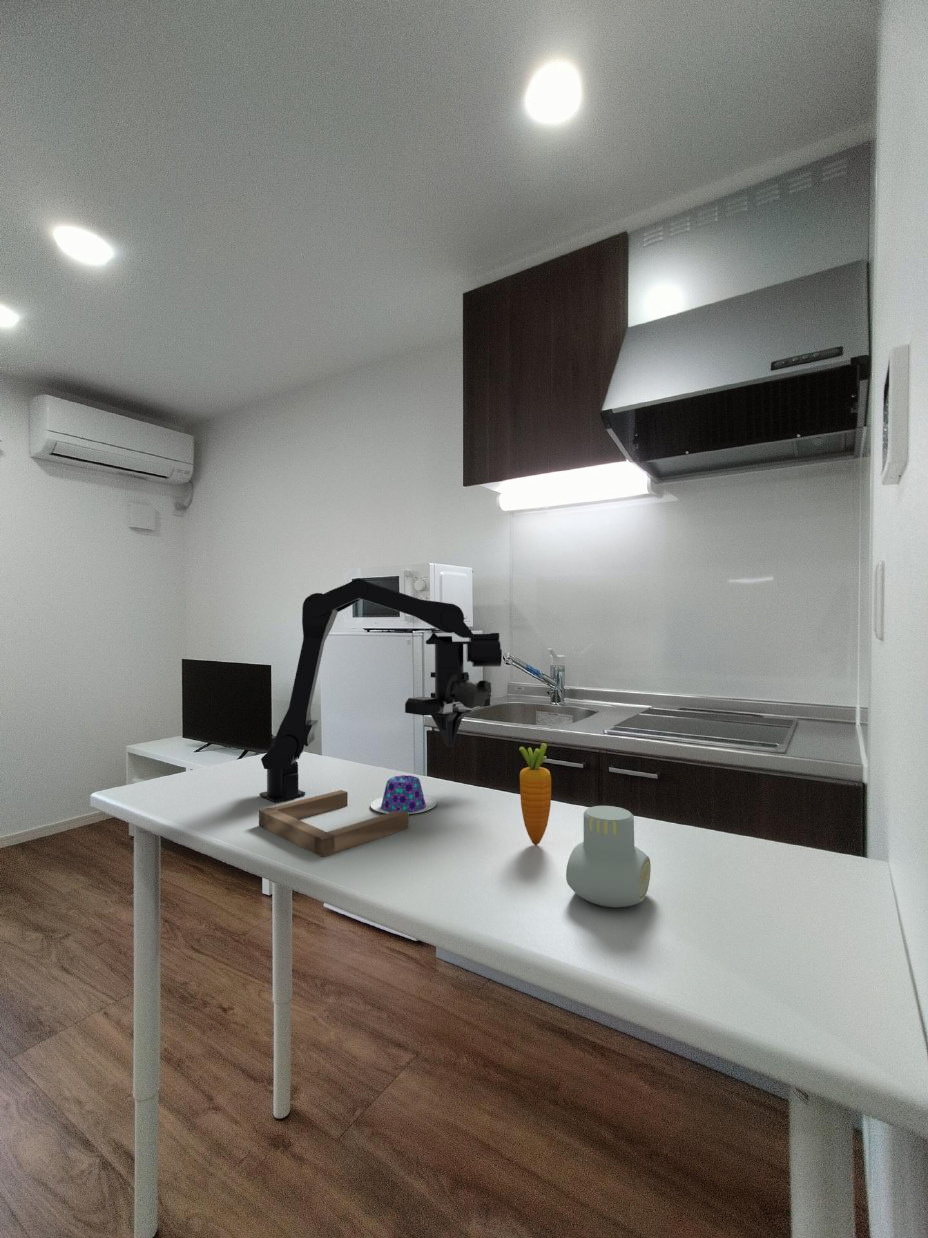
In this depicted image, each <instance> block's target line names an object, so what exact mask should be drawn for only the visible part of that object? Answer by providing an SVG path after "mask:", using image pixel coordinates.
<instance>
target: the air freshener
mask: <svg viewBox="0 0 928 1238" xmlns="http://www.w3.org/2000/svg"><path fill="white" fill-rule="evenodd" d="M651 868H652V867H651V859H650V857H649V856H648V855H647V854H646V853H645V852H644V851H643V850H641V849H640V848H638V847H637V846H635V818H634V814H632V812H631V811H629V810H628V809H625V808H623V807H617V806H612V805H595V806H590V807H588V808H587V809H585V810H584V812H583V841H582V842H581V843H578V844H577V845H575V847H573V849H572V851H571V853H570V855H569V857H568V862H567V865H566V871H565V878H566V879H565V880H566V883H567V885H568V887H569V888H570V889H571V890H573V892H574V893H575V894H576V895H578V896H579V897H580V898H582V899H584V900H586V901H587V902H590V903H592V904H594V905H597V906H601V907H606V908H614V909H615V908H616V909H617V908H625V907H630V906H635V905H637V904H640V903H642V902H643V901H644V900H645V898H646V895H647V893H648V889H649V887H650V880H651Z"/></svg>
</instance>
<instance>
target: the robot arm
mask: <svg viewBox="0 0 928 1238" xmlns="http://www.w3.org/2000/svg"><path fill="white" fill-rule="evenodd" d="M360 601H367V602H369V603H372V604H375V605H379V606H382V607H384V608H387V609H390V610H394V611H396V612H399V613H403V614H406V615H409V616H412V617H415V618H417V619H418V620H421V622H424V623H426V624H427V625H429V626H432V627H433V628H435V629H437V630H439V631H440V632H443V633H446V634H447V633H448V634H453V633H454V634H455V635H456V636H458V637H459V638H463V639H468V640H467V641H465V640H464V641H463V640H462V641H459V640H458V641H457V640H454V641H453V636H452V635H437V634H436V632H432V633H431V635H430V637H429V638H428V639H426V640H425V644H426V645H434V671H432V672H430V678H434V692H430V697H427V696H417V697H416V696H415V697H408V698H407V700H406V701H405V703H404V713H406V714H412V715H416V716H417V715H418V716H431V718H432V719H433V721H434V723H435V724H436V727H437V728H438V731H439V733H440V735H441V737H442V739H443V742H444V743H445V745H446V747H453V746H454V743H455V741H456V737H457V734H458V730H459V728H460V725H461V723H462V721H463V719H464V718H465V717H466V716H467V715H468V714H470V713H471V712H472V709H474V708H478V707H480V708H483V707H484V708H485V707H490V706H491V697H492V694H491V693H492V683H491V682H490V681H489V680H486V679H483V680H479V681H478V682H472V681H471V680H470V675H469V672H468V671H464V670H465V669H464V667H465V666H464V663H465V662H464V645H466V649H465V650H466V651H465V652H466V653H465V654H466V655H465V656H466V657H465V658H466V662H467V663H468V662H469V663H471V666H472V668H473V667H474V668H480V667H482V668H485V667H487V668H490V667H495V668H497V667H498V668H499V667H501V666H502V659H503V657H502V656H503V653H502V650H503V649H502V648H501V640H500V633H499V632H489V633H473V632H472V629H470V628H469V627H468V625H467V624H466V623H465V621H464V620H465V615H464V611H462V608H460V606H458V605H456V604H454V603H449V602H441V601H435V600H427V599H421V598H418V597H414V596H412V595H408V594H405V593H402V592H400V591H396V590H393V589H390V588H388V587H384V586H381V585H379V584H375V583H373V582H369V581H367V580H366V579H364V578H361V577H359V578H358V577H357V578H354V579H352V580H351V581H350V582H347V583H346V584H343V585H340V586H338V587H336V588H333V589H331V590H328V591H327V592H324V593H322V592H315V593H312V594H310V595H308V596H307V597H306V598H305V599H304V601H303V602H302V615H301V616H302V617H301V625H302V644H301V649H300V653H299V657H298V658H299V659H298V662H297V667H296V673H295V676H294V681H293V686H292V689H291V690H292V691H291V695H290V700H289V704H288V705H289V706H288V708H287V711H286V713H285V715H284V717H283V719H282V721H281V722H280V724H279V726H278V727H279V728H278V730H277V732H276V735H275V737H274V740H273V746H272V747H271V748H270V749H269V750H268V751H267V752H266V753H265V754H264V755H263V756H262V757H261V758H260V760H261V764H262V766H263V769H264V770H266V791H262V792H259V796H260V797H261V798H264V799H267V800H269V801H271V802H273V803H274V802H275V803H276V802H283V801H286V800H289V799H293V798H297V797H298V798H299V797H303V796H306V792H305V791H303V790H301V789H299V763H298V760H299V759H300V757H301V754H303V753H304V751H306V750H307V748H308V747H309V746H310V745H311V744H312V743H313V742H314V741H315V740H316V739H315V730H316V727H317V725H318V722H319V720H317V719H315V720H314V719H312V714H311V709H312V703H313V699H314V694H315V689H316V684H317V681H318V675H319V672H320V671H319V670H320V666H321V661H322V656H323V652H324V647H325V646H324V645H325V642H326V640H327V638H328V636H329V634H330V632H331V630H332V628H333V625H334V624H335V620H336V618H337V616H338V613H339V612H342V611H343V610H345V609H347V608H349V607H351V606H352V605H354V604H357V602H360Z"/></svg>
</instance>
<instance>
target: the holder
mask: <svg viewBox="0 0 928 1238" xmlns="http://www.w3.org/2000/svg"><path fill="white" fill-rule="evenodd" d="M348 796H349V795H348V791H345V790H343V789H340V790H336V791H335V790H334V791H332V792H328V793H324V794H320V795H315V796H312V797H307V798H304V799H299V800H296V801H291V802H286V803H284V804H280V805H274V806H271V807H266V808H262V809H258V826H259V827H261V828H263V829H265V830H267V831H270V832H271V833H273V834H275V835H277V836H279V837H281V838H283V839H285V840H288V841H289V842H291V843H293V844H295V845H297V846H299V847H302V848H303V849H306V850H307V851H310V852H312V853H313V854H316V855H317V856H319V857H321V858H324V857H326V856H329V855H330V856H331V855H333V854H336V853H338V852H341V851H345V850H348V849H349V848H350V849H351V848H354V847H355V846H359V845H361V844H365V843H368V842H371V841H374V840H376V839H379V838H383V837H385V836H386V837H387V836H388V835H391V834H394V833H397V832H400V831H403V830H406V829H409V827H410V825H409V815H410V814H409V812H406V811H403V810H398V811H395V812H390V813H388V814H387V813H384V814H382V815H378V816H375V817H372V818H369V819H365V820H363V821H359V822H355V823H352V824H349V825H346V826H343V827H340V828H339V827H338V828H335V829H332V830H330V831H329V830H328V831H326V830H324V829H322V828H321V829H320V828H318V827H316V826H314V825H311V824H309V823H307V822H305V821H302V820H301V819H304V818H307V817H308V818H309V817H312V816H315V815H318V814H322V813H326V812H331V811H334V810H337V809H340V808H345V807H348V805H349V804H348Z"/></svg>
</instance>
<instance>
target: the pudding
mask: <svg viewBox="0 0 928 1238" xmlns="http://www.w3.org/2000/svg"><path fill="white" fill-rule="evenodd" d="M421 784H422V783H421V780H420V779H419V777H417V776H414V775H406V774H405V775H404V774H403V775H398V776H397V775H395V776H392V777H391V778H390V777H389V779H388V780H387V781H386V784H385V787H384V793H383V796H381V797H379V798H376V799H375V800H372V802H371V803H370V808H371V809H372V810H374V811H376V812H379V813H382V814H388V813H391V812H395V811H398V810H403V811H406V812H409V815H411V814H412V815H413V814H419V813H422V812H426V811H429V810H430V809H433V808H435V807H436V805H437V800H436V799H435V798H433V797H431V796H428V795H424V792H423V789H422V788H423V787H422V785H421Z"/></svg>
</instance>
